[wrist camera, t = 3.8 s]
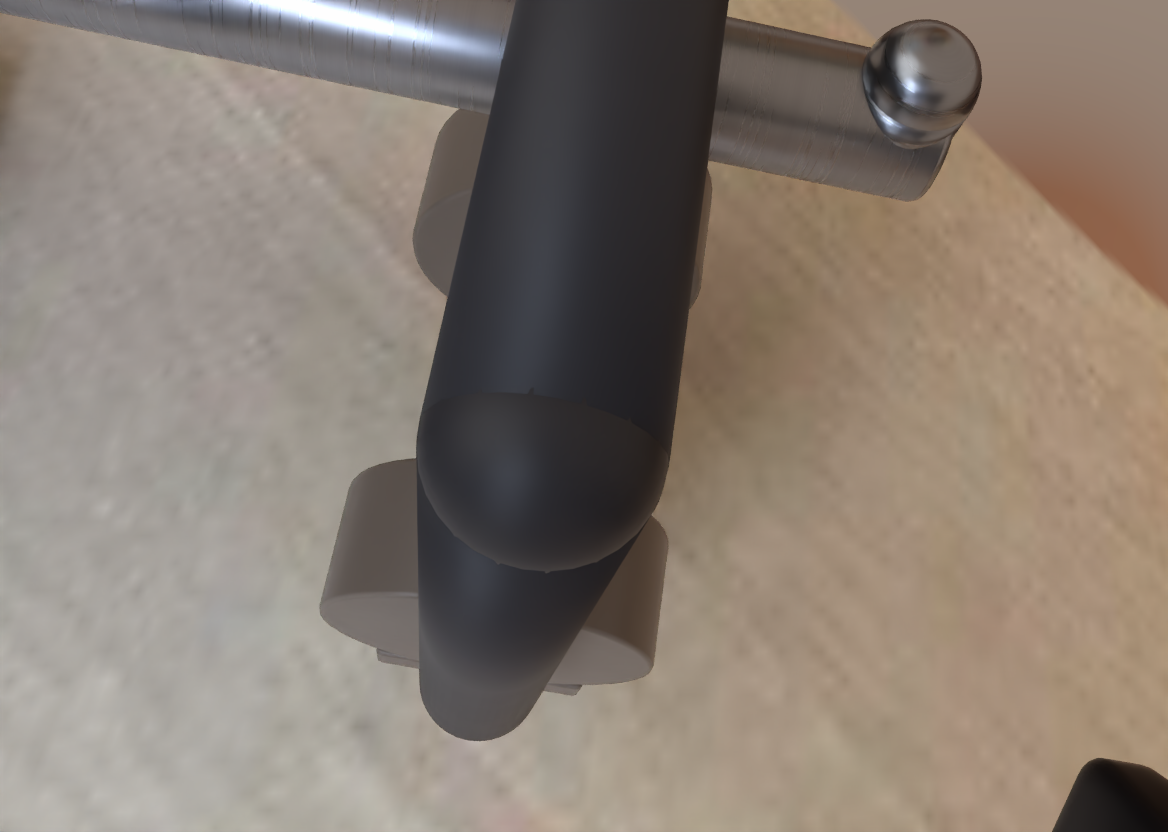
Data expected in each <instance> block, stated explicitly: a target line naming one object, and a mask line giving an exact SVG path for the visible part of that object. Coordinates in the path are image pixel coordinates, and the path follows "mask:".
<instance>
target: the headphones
mask: <svg viewBox="0 0 1168 832" xmlns="http://www.w3.org/2000/svg"><path fill="white" fill-rule="evenodd" d="M728 2H729V0H516V2H515V6H514V11H513V15H512V19H511V24H510V28H509V32H508V37H507V41H506V45H505V50H504V54H503V59H502V63H501V67H500V72H499V76H498V80H497V85H496V89H495V93H494V98H493V102H492V107H491V111H490V115H489V114H484V113H479V112H474V111H469V110H465V109H458V110H457V111H456V112H455V113H454V114H453V115H452V116H451V117H450V118H449V119H448V120H447V121H446V123H445V124H444V126H443V127H442V129H441V130H440V132H439V135H438V137H437V140H436V143H435V147H434V151H433V155H432V159H431V163H430V167H429V171H428V175H427V179H426V183H425V187H424V191H423V195H422V199H421V203H420V207H419V211H418V215H417V219H416V223H415V227H414V232H413V247H414V253H415V256H416V258H417V261H418V264H419V265H420V267H421V269H422V270H423V272H424V274H425V275H426V276H427V277H428V279H429V280H430V281H431V282H432V283H433V284H434V285H435V286H436V287H437V288H438V289H439V290H440V291H441V292H442V293H444V294H445V295H446V296H447V297H448V299H447V303H446V307H445V312H444V316H443V320H442V325H441V329H440V333H439V338H438V342H437V347H436V351H435V355H434V360H433V364H432V368H431V373H430V377H429V381H428V386H427V390H426V395H425V399H424V403H423V408H422V412H421V416H420V421H419V428H418V434H417V445H416V459H405V460H397V461H392V462H387V463H383V464H379V465H376V466H373V467H371V468H368V469H367V470H365V471H363V472H361V473H360V474H359V475H358V476H357V477H356V478H355V479H354V480H353V481H352V483H351V485H350V487H349V491H348V495H347V499H346V502H345V506H344V510H343V514H342V518H341V522H340V526H339V530H338V534H337V538H336V542H335V546H334V550H333V554H332V558H331V562H330V566H329V570H328V574H327V578H326V582H325V586H324V590H323V594H322V598H321V602H320V614H321V616H322V618H323V619H324V620H325V621H326V622H327V623H328V624H329V625H330V626H332V627H333V628H335V629H337V630H338V631H340V632H341V633H343V634H345V635H347V636H349V637H351V638H353V639H355V640H358V641H360V642H362V643H365V644H367V645H370V646H372V647H375V648H377V649H376V650H377V656H378V660H379V661H381V662H384V663H390V664H395V665H401V666H407V667H412V668H418V669H419V679H420V692H421V696H422V700H423V703H424V705H425V708H426V709H427V711H428V713H429V715H430V716H431V717H432V719H433V720H434V721H435V722H436V723H437V724H438V725H439V726H440V727H441V728H442V729H444V730H445V731H446V732H448V733H450V734H452V735H454V736H456V737H458V738H462V739H465V740H471V741H485V740H492V739H495V738H498V737H501V736H503V735H505V734H507V733H509V732H510V731H512V730H514V729H515V728H516V727H517V726H518V725H520V724H521V723H522V722H523V720H524V719H525V718H526V717H527V715H528V714H529V712H530V711H531V709H532V708H533V706H534V704H535V703H536V701H537V700H538V698H539V696H540V695H541V693H542V691H548V692H554V693H560V694H565V695H571V696H573V695H576V694H577V692H578V691H579V690H580V688H581V687H582V685H599V684H613V683H621V682H627V681H631V680H636V679H639V678H641V677H644V676H645V675H647V674H648V673H649V672H650V671H651V669H652V667H653V665H654V657H655V649H656V641H657V633H658V625H659V617H660V609H661V601H662V593H663V585H664V577H665V569H666V561H667V553H668V538H667V535H666V532H665V530H664V528H663V527H662V526H661V524H660V523H659V522H658V521H657V520H656V519H655V518H654V517H653V516H652V513H653V511H654V509H655V507H656V505H657V503H658V502H659V499H660V496H661V494H662V490H663V487H664V483H665V479H666V475H667V471H668V467H669V462H670V454H671V446H672V438H673V431H674V423H675V415H676V407H677V399H678V392H679V384H680V376H681V368H682V360H683V353H684V345H685V337H686V329H687V321H688V314H689V309H690V308H691V307H692V305H693V304H694V302H695V300H696V299H697V297H698V294H699V291H700V288H701V280H702V272H703V264H704V256H705V248H706V240H707V232H708V224H709V215H710V207H711V199H712V183H711V177H710V174H709V171H708V168H707V166H708V158H709V150H710V142H711V134H712V127H713V119H714V111H715V103H716V95H717V88H718V80H719V72H720V64H721V56H722V49H723V41H724V33H725V25H726V17H727V10H728Z"/></svg>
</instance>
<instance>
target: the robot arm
mask: <svg viewBox="0 0 1168 832" xmlns="http://www.w3.org/2000/svg"><path fill="white" fill-rule="evenodd" d="M1052 832H1168V780H1167V779H1166V778H1164V777H1163V776H1161V775H1160V774H1159V773H1157V772H1156V771H1154V770H1153V769H1151V768H1149V767H1146V766H1143V765H1139V764H1134V763H1128V762H1122V761H1116V760H1111V759H1104V758H1096V759H1094V760H1091V761H1089V762H1088V763H1086V764H1085V765H1084V766H1083V767H1082V769H1081V771H1080V773H1079V774H1078V776H1077V778H1076V781H1075V783H1074V785H1073V787H1072V789H1071V792H1070V794H1069V796H1068V798H1067V800H1066V803H1065V805H1064V807H1063V809H1062V811H1061V813H1060V816H1059V818H1058V820H1057V822H1056V824H1055V827H1054V829H1053V831H1052Z"/></svg>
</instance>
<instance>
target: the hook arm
mask: <svg viewBox="0 0 1168 832" xmlns="http://www.w3.org/2000/svg"><path fill="white" fill-rule="evenodd" d="M515 2H516V0H0V13H4V14H9V15H14V16H19V17H24V18H28V19H33V20H38V21H43V22H48V23H52V24H57V25H62V26H67V27H71V28H76V29H81V30H86V31H91V32H95V33H100V34H105V35H110V36H115V37H119V38H124V39H129V40H134V41H139V42H143V43H148V44H153V45H158V46H163V47H167V48H172V49H177V50H182V51H187V52H191V53H196V54H201V55H206V56H211V57H215V58H220V59H225V60H230V61H234V62H239V63H244V64H249V65H254V66H258V67H263V68H268V69H273V70H278V71H282V72H287V73H292V74H297V75H302V76H306V77H311V78H316V79H321V80H326V81H330V82H335V83H340V84H345V85H350V86H354V87H359V88H364V89H369V90H374V91H378V92H383V93H388V94H393V95H397V96H402V97H407V98H412V99H417V100H421V101H426V102H431V103H436V104H441V105H445V106H450V107H455V108H460V109H465V110H469V111H474V112H479V113H484V114H489V115H490V111H491V107H492V102H493V98H494V93H495V89H496V85H497V80H498V76H499V72H500V67H501V63H502V59H503V54H504V50H505V45H506V41H507V37H508V32H509V28H510V24H511V19H512V15H513V11H514V6H515ZM981 82H982V74H981V64H980V60H979V57H978V54H977V52H976V50H975V48H974V46H973V44H972V43H971V41H970V40H969V39H968V38H967V37H966V36H965V35H964V34H963V33H962V32H961V31H959V30H958V29H956V28H955V27H953V26H951V25H949V24H947V23H944V22H940V21H937V20H915V21H909V22H906V23H904V24H902V25H899V26H897V27H894V28H892V29H891V30H890V31H888V32H887V33H885V34H884V35H883V36H882V37H881V38H879V39H878V40H877V42H876V43H875V44H874V45H873V46H872V48H870V47H865V46H861V45H856V44H851V43H847V42H842V41H838V40H833V39H828V38H824V37H819V36H815V35H810V34H805V33H801V32H796V31H792V30H787V29H782V28H778V27H773V26H769V25H764V24H759V23H755V22H750V21H745V20H741V19H736V18H732V17H726V25H725V33H724V41H723V49H722V56H721V64H720V72H719V80H718V88H717V95H716V103H715V111H714V119H713V127H712V134H711V142H710V150H709V158H708V160H709V161H714V162H719V163H724V164H728V165H733V166H738V167H743V168H747V169H752V170H757V171H762V172H767V173H771V174H776V175H781V176H786V177H791V178H795V179H800V180H805V181H810V182H815V183H819V184H824V185H829V186H834V187H839V188H843V189H848V190H853V191H858V192H863V193H867V194H872V195H877V196H882V197H887V198H891V199H896V200H901V201H906V202H908V201H913V200H917V199H919V198H921V197H922V196H923V195H924V194H925V193H926V192H927V191H928V189H929V188H930V186H931V185H932V183H933V182H934V180H935V178H936V176H937V175H938V173H939V171H940V169H941V167H942V165H943V162H944V160H945V158H946V155H947V152H948V149H949V147H950V144H951V140H952V138H953V137H954V135H955V134H956V132H957V131H958V130H959V128H960V127H961V125H962V124H963V122H964V121H965V120H966V118H967V117H968V115H969V114H970V113H971V111H972V109H973V107H974V105H975V103H976V101H977V98H978V96H979V92H980V88H981Z"/></svg>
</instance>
